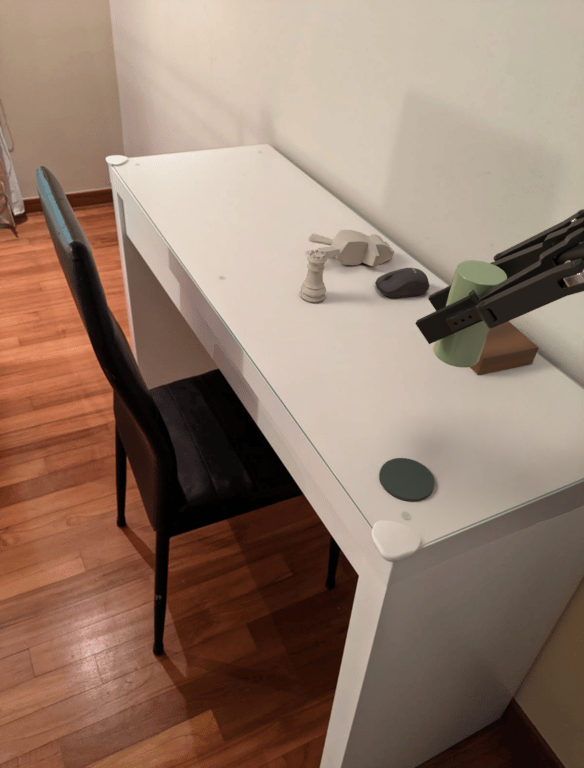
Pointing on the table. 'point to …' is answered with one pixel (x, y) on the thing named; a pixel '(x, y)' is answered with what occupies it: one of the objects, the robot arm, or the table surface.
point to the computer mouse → (403, 283)
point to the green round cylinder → (471, 340)
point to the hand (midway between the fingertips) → (429, 318)
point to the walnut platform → (505, 350)
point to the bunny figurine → (355, 248)
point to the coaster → (406, 479)
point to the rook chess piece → (314, 278)
